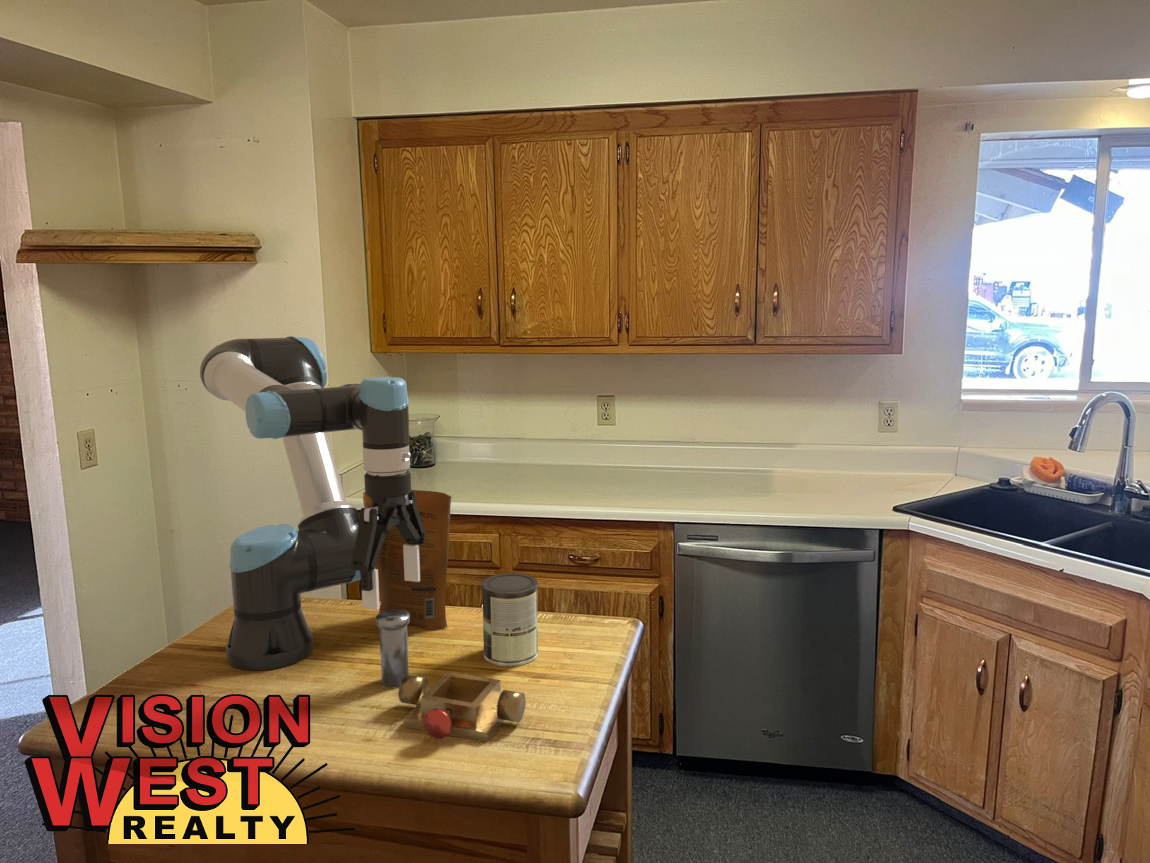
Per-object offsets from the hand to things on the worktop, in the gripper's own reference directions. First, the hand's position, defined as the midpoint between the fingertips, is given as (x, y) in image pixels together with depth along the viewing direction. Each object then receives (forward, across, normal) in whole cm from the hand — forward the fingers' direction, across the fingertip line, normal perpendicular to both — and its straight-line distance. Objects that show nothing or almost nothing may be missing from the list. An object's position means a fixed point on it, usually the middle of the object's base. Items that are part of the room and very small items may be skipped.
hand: (392, 593), depth 138 cm
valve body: (+16, -8, -16) cm, 24 cm away
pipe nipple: (+16, 0, 0) cm, 16 cm away
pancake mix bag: (+16, +23, +10) cm, 30 cm away
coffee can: (+16, +16, -15) cm, 27 cm away
